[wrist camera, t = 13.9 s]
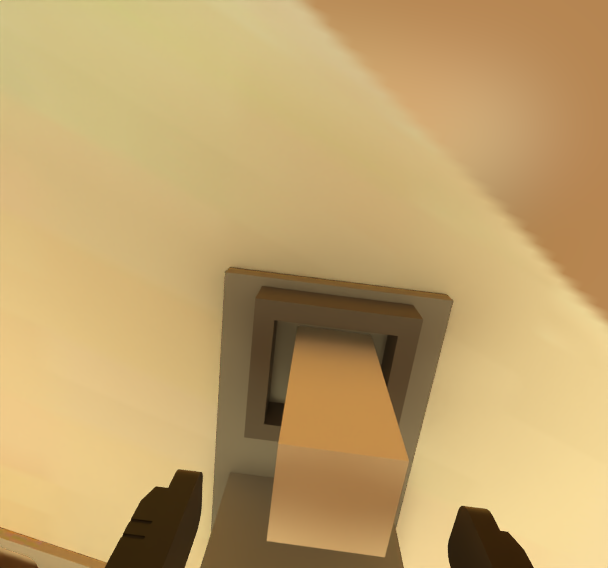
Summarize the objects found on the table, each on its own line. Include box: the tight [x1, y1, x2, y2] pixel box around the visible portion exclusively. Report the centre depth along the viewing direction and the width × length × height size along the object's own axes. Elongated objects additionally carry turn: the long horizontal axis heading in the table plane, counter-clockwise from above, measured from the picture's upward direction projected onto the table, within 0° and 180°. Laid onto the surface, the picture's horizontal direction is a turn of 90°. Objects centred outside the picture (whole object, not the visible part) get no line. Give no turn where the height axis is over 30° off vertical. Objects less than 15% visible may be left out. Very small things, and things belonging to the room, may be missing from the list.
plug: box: [267, 326, 409, 557], centre depth 16 cm, size 5×4×9 cm
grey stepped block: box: [200, 267, 453, 568], centre depth 18 cm, size 22×12×11 cm, turn 173°
